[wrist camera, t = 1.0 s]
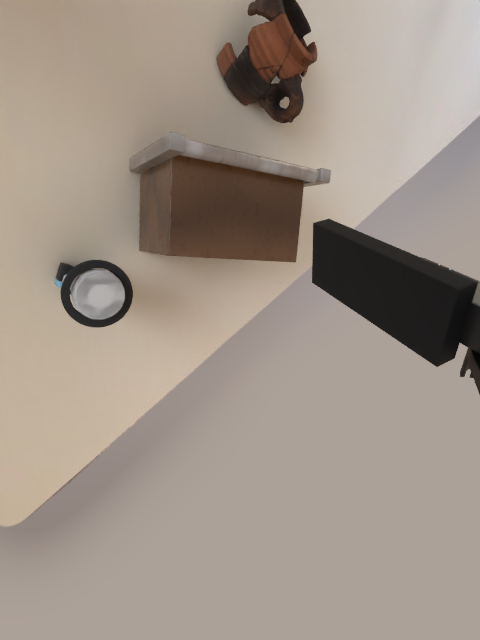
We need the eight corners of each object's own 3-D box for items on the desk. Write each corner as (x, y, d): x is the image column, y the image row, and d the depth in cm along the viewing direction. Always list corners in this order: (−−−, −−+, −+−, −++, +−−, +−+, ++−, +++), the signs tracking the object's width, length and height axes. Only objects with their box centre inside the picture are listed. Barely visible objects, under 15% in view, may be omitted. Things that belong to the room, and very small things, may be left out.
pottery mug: (196, 28, 37) (259, -41, 32) (244, 45, 44) (301, -9, 39) (245, 142, 39) (311, 95, 34) (283, 141, 46) (342, 102, 41)
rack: (129, 158, 36) (169, 131, 26) (263, 183, 44) (331, 169, 35) (128, 250, 38) (166, 256, 28) (257, 257, 46) (320, 264, 36)
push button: (128, 267, 38) (159, 278, 30) (114, 316, 38) (140, 339, 30) (60, 246, 34) (74, 251, 26) (45, 300, 35) (53, 321, 26)
